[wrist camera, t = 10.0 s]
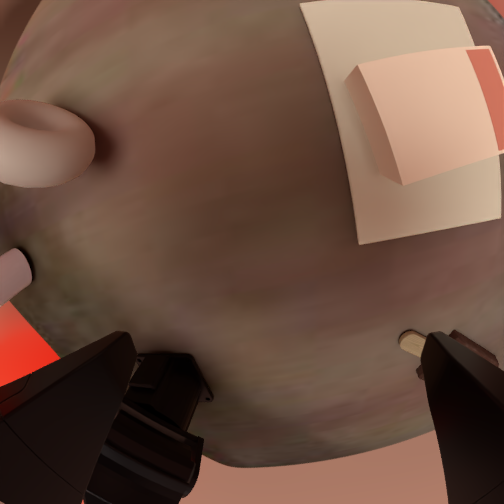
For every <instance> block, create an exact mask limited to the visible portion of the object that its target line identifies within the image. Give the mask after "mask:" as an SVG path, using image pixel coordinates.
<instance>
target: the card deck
mask: <svg viewBox="0 0 504 504" xmlns="http://www.w3.org/2000/svg"><path fill="white" fill-rule="evenodd" d="M344 83H345V85H346V87H347V89H348V91H349V94H350V96H351V98H352V100H353V103H354V105H355V107H356V110H357V112H358V115H359V117H360V119H361V122H362V125H363V127H364V130H365V132H366V135H367V138H368V140H369V143H370V146H371V149H372V152H373V154H374V157H375V160H376V163H377V166H378V169H379V173H380V175H382V176H384V177H386V178H388V179H390V180H392V181H394V182H396V183H398V184H400V185H402V186H404V185H407V184H410V183H413V182H416V181H419V180H422V179H425V178H428V177H431V176H434V175H437V174H440V173H443V172H446V171H449V170H453V169H456V168H459V167H462V166H465V165H468V164H471V163H474V162H477V161H480V160H483V159H486V158H490V157H493V156H496V155H499V154H502V153H504V79H503V76H502V73H501V71H500V68H499V65H498V63H497V61H496V58H495V56H494V54H493V51H492V49H491V47H490V46H470V47H456V48H445V49H436V50H429V51H422V52H415V53H409V54H403V55H398V56H393V57H388V58H383V59H379V60H374V61H370V62H366V63H362V64H358V65H357V66H356V67H355V68H354V69H353V70H352V72H351V73H350V74H349V75H348V76H347V78H346V79H345V80H344Z"/></svg>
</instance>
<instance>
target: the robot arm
mask: <svg viewBox="0 0 504 504" xmlns="http://www.w3.org/2000/svg"><path fill="white" fill-rule="evenodd" d="M187 359H188V360H187ZM135 362H137V364H138V365H139V367H138V369H137V370H136V372H135V373H134V375H133V377H132V378H131V380H130V377H131V374H132V371H133V368H134V365H135ZM421 365H422V370H423V375H424V381H425V386H426V392H427V398H428V403H429V407H430V411H431V415H432V419H433V423H434V427H435V431H436V435H437V439H438V444H439V448H440V453H441V458H442V464H443V468H444V475H445V481H446V487H447V495H448V504H504V371H503V370H501V369H500V368H498V367H497V366H495V365H494V364H492V363H491V362H489V361H487V360H486V359H484V358H483V357H481V356H480V355H478V354H476V353H475V352H473V351H472V350H470V349H469V348H467V347H465V346H464V345H462V344H461V343H459V342H457V341H456V340H454V339H453V338H451V337H449V336H448V335H446V334H444V333H443V332H440V331H438V332H431V333H429V334H428V335H427V338H426V341H425V344H424V347H423V350H422V353H421ZM129 380H130V381H129ZM128 383H129V384H128ZM128 385H129V389H128V390H127V392H126V389H127V386H128ZM125 392H126V393H125ZM212 400H213V395H212V393H211V391H210V389H209V388H208V386H207V384H206V382H205V380H204V378H203V376H202V374H201V372H200V371H199V369H198V367H197V365H196V363H195V361H194V359H193V357H192V356H191V355H188V354H138V355H137V351H136V349H135V346H134V343H133V341H132V338H131V336H130V334H129V333H128V332H124V331H115V332H113V333H111V334H109V335H107V336H105V337H103V338H101V339H99V340H97V341H95V342H93V343H91V344H89V345H87V346H85V347H83V348H81V349H79V350H77V351H75V352H73V353H71V354H69V355H67V356H65V357H63V358H61V359H59V360H57V361H55V362H53V363H51V364H49V365H47V366H44V367H42V368H40V369H38V370H36V371H35V372H32V374H28V375H26V376H24V377H22V378H19V379H17V380H15V381H13V382H11V383H8V384H6V385H4V386H1V387H0V504H81V503H82V500H84V504H179V501H180V499H181V498H184V497H186V496H187V495H188V494H189V493H190V492H191V490H192V488H193V487H194V485H195V483H196V481H197V478H198V475H199V470H200V463H201V456H202V450H203V443H204V439H203V438H201V437H199V436H198V437H197V436H194V435H192V434H190V433H188V432H187V430H188V427H189V425H190V422H191V419H192V417H193V414H194V411H195V409H196V406H197V404H198V402H211V401H212Z"/></svg>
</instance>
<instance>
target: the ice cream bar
mask: <svg viewBox="0 0 504 504" xmlns="http://www.w3.org/2000/svg"><path fill="white" fill-rule="evenodd" d="M449 337H451V338H453V339H454V340H456V341H457V342H459V343H461V344H462V345H464V346H465V347H467V348H469V349H470V350H472V351H473V352H475V353H476V354H478V355H480V356H481V357H483V358H484V359H486V360H487V361H489V362H491V363H492V364H494V365H495V366H497V367H498V365H499V363H498V360H497V359H496V357H495V355H493V354H492V353H490V352H489V351H487V350H486V349H484V348H482V347H481V346H479V345H478V344H476V343H475V342H473V341H472V340H470V339H468V338H467V337H465V336H464V335H462V334H460V333H459V332H457V331H456V330H453V331H452V332H451V334H450V335H449ZM425 341H426V337H424V336H422V335H420V334H418V333H417V332H414V331H408V332H406V333H404V334H403V335H402V336H401V337H400V339H399V344H400V347H401V348H402V349H403V350H405V351H407V352H409V353H412V354H414V355H416V356H418V357H420V358H421V353H422V350H423V347H424V344H425ZM416 371H417V374H418V377H419V378H420V379H422V380H424V375H423V370H422V365H420V366H419V367H418V368H417V369H416Z"/></svg>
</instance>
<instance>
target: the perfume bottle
mask: <svg viewBox="0 0 504 504" xmlns="http://www.w3.org/2000/svg"><path fill="white" fill-rule="evenodd" d="M31 281H32V274H31V270H30V266H29V264H28V262H27V260H26V258H25V256H24V255H23V254H22V252H21V251H19V250H18V249H16V248H13V249H11V250H10V251H8V252H6V253H5V254H3V255H1V256H0V307H1V306H2V305H3V304H5V303H6V302H7V301H9V300H10V299H11V298H12V297H14V296H15V295H16V294H18V293H19V292H20V291H22V290H23V289H24V288H26V287H27V286H28V285H30V284H31Z"/></svg>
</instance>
